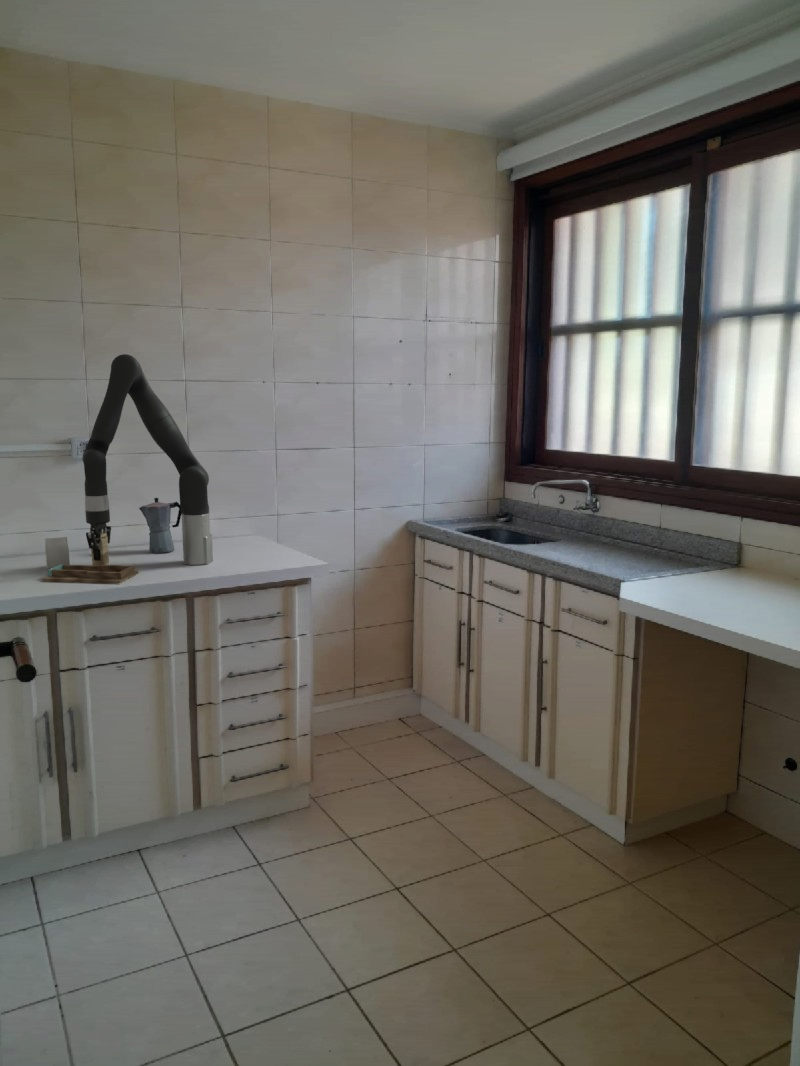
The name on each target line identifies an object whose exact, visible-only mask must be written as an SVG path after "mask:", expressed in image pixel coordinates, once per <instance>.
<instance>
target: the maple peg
mask: <svg viewBox="0 0 800 1066" xmlns="http://www.w3.org/2000/svg"><path fill="white" fill-rule="evenodd" d="M96 540H99V538H96ZM91 544H92V543H91ZM97 544H98V543H97ZM90 550H91V551H90V552H91V563H92V565H98V566H100V565H110V558H109V556H110V555H109V554H110V553H109V543H108V537H107V534H106V533H105V534H102V539H101V543H100V554H101V560H99V561H96V560H94V557H93V549H90Z"/></svg>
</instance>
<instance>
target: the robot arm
mask: <svg viewBox="0 0 800 1066" xmlns="http://www.w3.org/2000/svg"><path fill="white" fill-rule="evenodd" d="M146 377H147V376H146V375H145V373H144V372H143V369H142V366H141V364H140V362H139V360H137V358H135V357H134V356H133V355H130V354H125V353H124V354H120V355H117V356H116V357H114V359H113V360H112V362H111V364H110V374H109V380H108V384H107V389H106V392H105V395H104V398H103V401H102V404H101V406H100V408H99V411H98V413H97V416H96V419H95V422H94V424H93V428H92V431H91V434H90V438H89V440H88V441H87V444H86V445H85V448H84V451H83V454H82V463H83V469H84V471H83V472H84V478H85V480H84V497H85V498H84V510H85V511H84V512H85V522H86V523H87V524H89V525H90V526H89V527H90V528H89V531H87V532H85V537H86V541H87V545H88V548H89V549H90V550H91V549H93V557H94V560H96V561H99V560H101V554H100V543H101V539H102V534H105V533H106V534H107V537H108V544H110V542H111V531H112V526H110V525H107V524H108V523H109V522H111V514H110V513H111V512H110V501H109V494H108V483H107V454H108V451H109V447H110V446H111V444H112V443H113V441H114V438H115V435H116V433H117V430H118V427H119V424H120V420H121V416H122V412H123V409H124V405H125V401H126V398H127V395H128V396H130V398H131V400H132V401H133V404H134V406H135V408H136V411H137V412H138V415H139V417H140V419H141V421H142V423H143V425H144V427H145V428H146V430H147V433H148V434H149V435H150V436H151V438H152V439H153V441H154V442H155V443H156V445H157V446H158V447H159V448H160V450H162V452H164V454H166V456H167V457H168V458H169V459H170V460H171V462H172V464H173V465H174V467H175V468H176V471H177V472H178V474H179V479H178V491H179V493H178V494H179V504H180V506H181V512H182V514H181V531H182V532H181V533H182V534H181V535H182V552H183V557H182V558H183V564H185V565H191V566H192V565H193V566H199V565H200V566H201V565H209V564H210V563H211V561H212V562H213V561H214V555H213V553H214V552H213V551H214V549H213V534H212V533H211V529H210V528H211V525H210V523H211V522H210V506H209V499H208V497H209V496H208V485H209V482H210V479H209V474H208V472H207V471H206V468H204V467H203V465H202V464H201V463H200V461H199V460H198V459H197V457H196V456H195V455H194V453H193V452H192V451H191V449H190V447H189V445H188V443H187V441H186V439H185V437H184V435H183V434H182V432H181V430H180V428H179V426H178V424H177V422H176V421H175V420H174V418H173V416H172V414H171V413H170V412H169V410H168V408H167V406H165V404H164V403H163V402H162V401H161V399H160V398H159V397H158V396H157V394H156V393H155V391H154V390H153V389H152V387H151V386H150V384H149V381H148V379H147V378H146ZM96 538H99V540H96ZM91 543H92V544H91ZM97 543H98V544H97ZM208 563H209V564H208Z"/></svg>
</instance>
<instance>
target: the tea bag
mask: <svg viewBox="0 0 800 1066" xmlns="http://www.w3.org/2000/svg"><path fill="white" fill-rule="evenodd" d="M44 541H45V545H44V546H45V548H44V549H45V562H46V568H47V569H48V570H49V568H54V567H56V566H58V565H71V564H70V549H69V543H68V542H69V541H68V537H67V536H63V537H62V536H61V537H49V538H45V539H44Z"/></svg>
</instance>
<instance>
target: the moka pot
mask: <svg viewBox="0 0 800 1066" xmlns="http://www.w3.org/2000/svg"><path fill="white" fill-rule="evenodd" d="M153 500H154V502H152V503H148V504H145V505H141V506H140V507H138V510H140V512H141V513H142V515H143V516H144V518H145V521H146V524H147V527H148V528H149V529H148V531H149V533H148V535H149V548H148V549H149V553H151V554H164V553H171V552H173V551H174V550H175V544H174V540H173V536H172V533H171V527H172V528H177V527H179V526H180V522H181V519H182V512H181V506H180V502H178V501H175V502H168V503H165V502H160V501H159V498H158V497H153ZM175 508H178V513H177V518H176V522H175V524H172V525H171V510H172V509H175Z"/></svg>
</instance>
